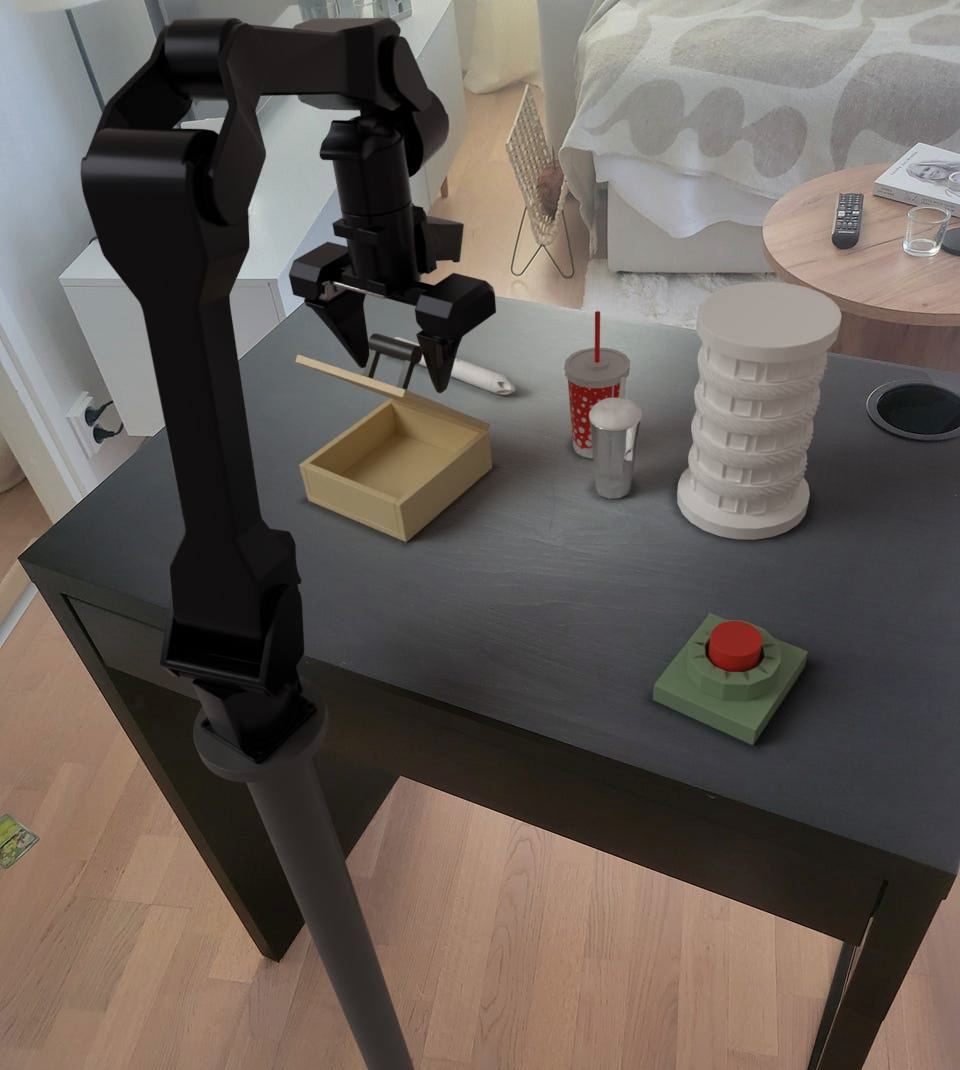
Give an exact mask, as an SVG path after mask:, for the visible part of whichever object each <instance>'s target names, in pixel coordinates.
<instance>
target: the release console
mask: <svg viewBox="0 0 960 1070" xmlns="http://www.w3.org/2000/svg"><path fill="white" fill-rule="evenodd" d="M727 621H741V622H745V623H748V624H750V625H752V626H753V627H755V628H756V629H757V630H758V631H759V632H760V634H761V636H762V647H761V652H760V657H759V661H758V663H757V665H756V666H755V667H754V668H752V669H751V670H749V671H746V672H727V671H725V670H723V669H720V668H718V667H717V666H715V665H714V664H713V663H712V661H711V660H710V658H709V654H708V652H709V644H710V636H711V632H712V630H713V629H714V628H715V627H716V626H717V625H719V624H721V623H723V622H727ZM808 656H809V651H808V650H805V649H803V648H801V647H798V646H795V645H794V644H793V645H792V644H790V643H788V642H785V641H783V640H780V639H778V638H776V637H773V636H772V634H771V633H770V632H769V631H768V630H767V629H765V628H764V627H761V626H758V625H756V624H753V623H751V622H748V621H745V620H742V619H741V620H740V619H727V618H724V617H722V616H719V615H717V614H714V613H712V612H710V613H708V615H707V616H706V618H704V620H703V621H702V623H701V624H700V625H699V626H698V628H697V629H696V630H695V632H694V633H693V634H692V635H691V637H690V638H689V639H688V641H687V642H686V643H685V645H684V646H683V647H682V648H681V649H680V651H679V652H678V653H677V654H676V656H675V657H674V658H673V659H672V661H671V662H670V663H669V665H668V666H667V668H666V669H665V670H664V671H663V673H662V674H661V675H660V676H659V677H658V679H656V680H655V682H654V684H653V691H652V701H654V702H657V703H658V704H661V705H662V706H665V707H667V708H669V709H672V710H674V711H676V712H678V713H680V714H683V715H685V716H687V717H689V718H692V719H694V720H696V721H698V722H700V723H703V724H705V725H707V726H708V727H711V728H713V729H716V730H718V731H719V732H722V733H725V734H726V735H728V736H731V737H733V738H736V739H738V740H740V741H742V742H744V743H746V744H749V745H750V746H754V745H755V743H757V741H758V740H759V739H758V738H759V737H760V736H761V734H762V732H763V731H764V730H765V728H766V727H767V726H768V724H769V722H770V721H771V719H772V717H773V716H774V715H775V713H776V712H777V710H778V709H779V707H780V705H781V704H782V702H783V701H784V699H785V698H786V697H787V695H788V693H789V691H790V690H791V689H792V687H793V685H794V684H795V682H796V681H797V679H798V678H799V677H800V675H801V673H802V672H803V670H804V669H805V667H806V663H807V659H808Z"/></svg>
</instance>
